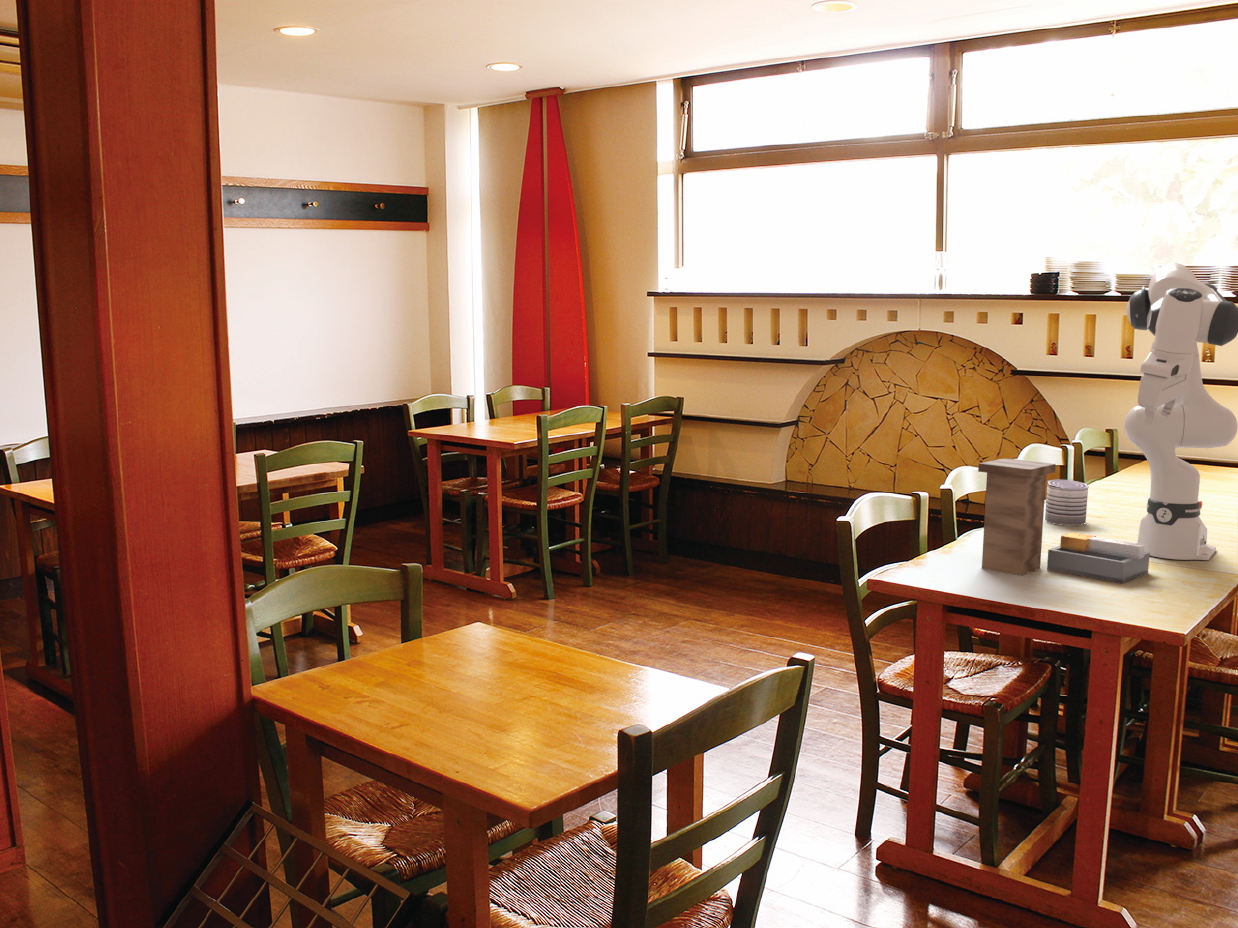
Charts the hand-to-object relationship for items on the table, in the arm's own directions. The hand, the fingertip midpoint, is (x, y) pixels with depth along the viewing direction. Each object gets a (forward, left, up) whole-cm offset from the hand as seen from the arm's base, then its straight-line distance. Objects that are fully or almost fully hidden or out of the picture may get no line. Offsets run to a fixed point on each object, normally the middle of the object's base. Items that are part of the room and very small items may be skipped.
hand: (1158, 419), depth 243 cm
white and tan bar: (+1, -10, -33) cm, 34 cm away
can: (-52, -43, -38) cm, 78 cm away
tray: (+1, -11, -38) cm, 39 cm away
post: (+14, -27, -38) cm, 48 cm away
